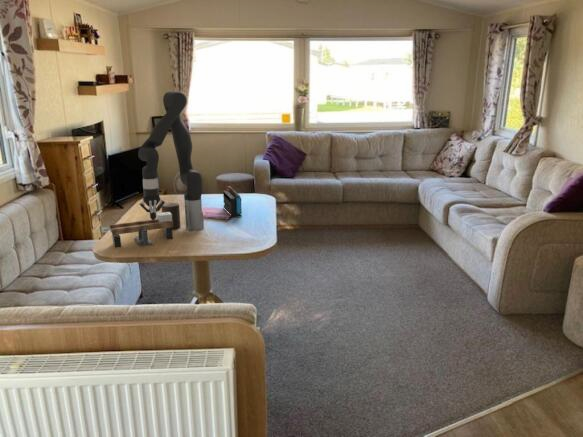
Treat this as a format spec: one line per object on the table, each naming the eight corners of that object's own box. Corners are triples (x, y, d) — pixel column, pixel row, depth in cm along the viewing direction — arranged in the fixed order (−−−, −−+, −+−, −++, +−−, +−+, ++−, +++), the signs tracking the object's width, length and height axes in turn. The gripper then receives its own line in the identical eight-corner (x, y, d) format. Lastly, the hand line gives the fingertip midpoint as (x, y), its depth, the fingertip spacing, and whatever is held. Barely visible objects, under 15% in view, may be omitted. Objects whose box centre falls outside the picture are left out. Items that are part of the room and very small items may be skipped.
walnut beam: (169, 222, 252) (168, 217, 251) (173, 226, 245) (173, 221, 244) (110, 229, 238) (109, 224, 238) (112, 235, 231) (112, 229, 230)
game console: (243, 218, 283) (242, 195, 279) (233, 219, 281) (232, 196, 277) (232, 206, 308) (231, 184, 304) (222, 207, 306) (221, 185, 302)
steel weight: (170, 220, 250) (169, 211, 248) (172, 223, 245) (171, 214, 244) (156, 222, 246) (156, 213, 245) (158, 225, 242) (158, 215, 241)
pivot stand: (167, 233, 256) (166, 216, 253) (174, 241, 244) (173, 224, 241) (112, 241, 243) (110, 224, 240) (116, 250, 231) (114, 232, 228)
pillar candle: (176, 230, 260) (174, 204, 256) (159, 229, 262) (158, 203, 258) (183, 225, 269) (182, 200, 265) (167, 224, 271) (166, 199, 267)
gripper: (162, 184, 244) (164, 215, 249) (136, 186, 238) (138, 219, 243) (165, 187, 238) (167, 219, 243) (138, 189, 232) (141, 223, 237)
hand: (153, 219), depth 243 cm, fingers closed
